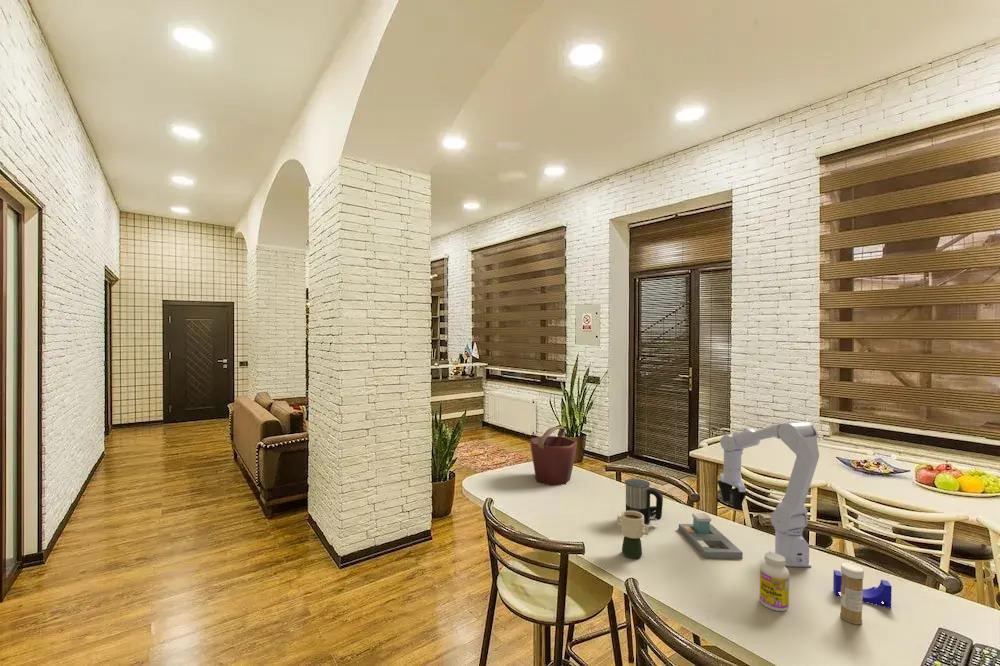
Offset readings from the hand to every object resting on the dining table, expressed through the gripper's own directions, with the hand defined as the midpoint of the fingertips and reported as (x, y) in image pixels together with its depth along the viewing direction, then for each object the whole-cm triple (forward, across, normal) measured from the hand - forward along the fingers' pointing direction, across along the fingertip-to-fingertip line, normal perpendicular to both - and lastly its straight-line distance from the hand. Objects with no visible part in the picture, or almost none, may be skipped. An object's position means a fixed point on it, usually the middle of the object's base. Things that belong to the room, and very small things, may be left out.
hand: (731, 504), depth 166 cm
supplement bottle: (+10, +45, -12) cm, 48 cm away
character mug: (+10, +19, -42) cm, 47 cm away
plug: (+10, +4, -13) cm, 17 cm away
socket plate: (+9, +10, -13) cm, 19 cm away
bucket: (+10, -54, -58) cm, 80 cm away
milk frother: (+10, -10, -29) cm, 32 cm away
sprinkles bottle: (+10, +51, +4) cm, 52 cm away
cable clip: (+10, +41, +14) cm, 45 cm away
